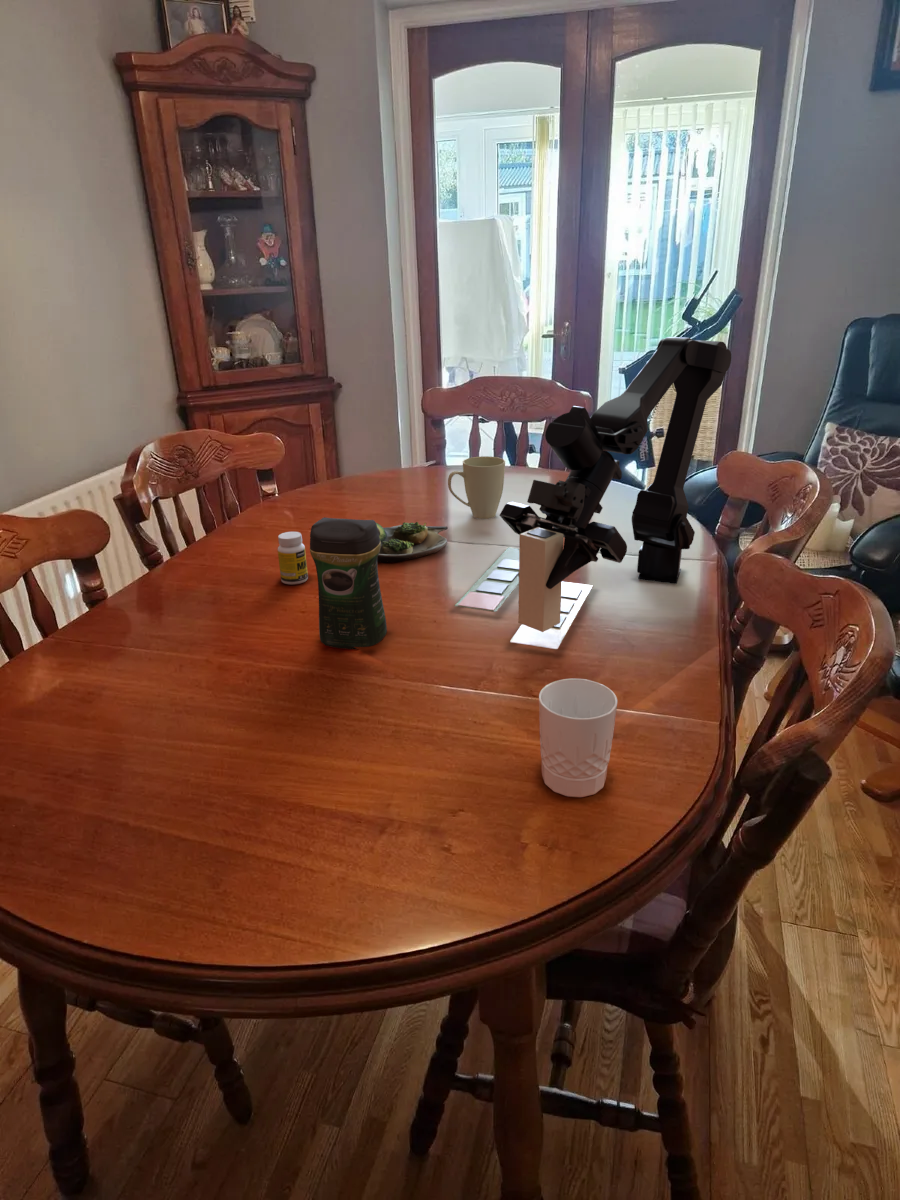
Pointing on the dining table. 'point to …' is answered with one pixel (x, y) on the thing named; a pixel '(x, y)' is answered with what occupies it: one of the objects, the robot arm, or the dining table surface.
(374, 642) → the coffee jar
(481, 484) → the mug
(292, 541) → the supplement bottle
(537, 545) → the cream tall square block
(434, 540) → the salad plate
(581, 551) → the robot arm
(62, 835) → the dining table surface
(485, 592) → the strip
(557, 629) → the strip
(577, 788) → the white cup
